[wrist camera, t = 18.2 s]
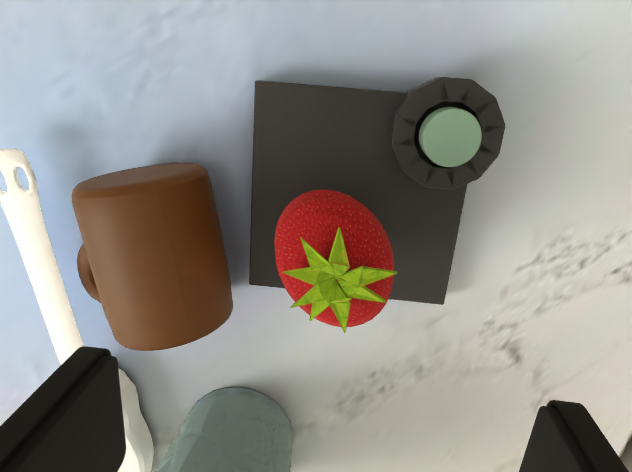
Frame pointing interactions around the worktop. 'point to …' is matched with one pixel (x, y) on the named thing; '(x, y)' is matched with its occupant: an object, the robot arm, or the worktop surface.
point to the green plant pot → (232, 435)
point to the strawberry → (334, 258)
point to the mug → (154, 254)
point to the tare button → (450, 136)
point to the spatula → (62, 297)
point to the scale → (368, 169)
